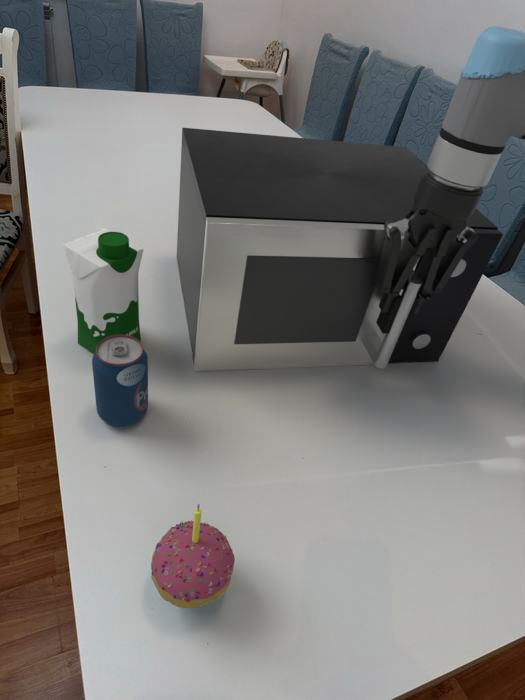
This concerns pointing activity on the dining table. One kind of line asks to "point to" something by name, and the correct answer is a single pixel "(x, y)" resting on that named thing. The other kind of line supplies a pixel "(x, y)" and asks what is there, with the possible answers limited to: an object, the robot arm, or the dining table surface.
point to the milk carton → (105, 286)
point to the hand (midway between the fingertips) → (390, 327)
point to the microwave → (316, 211)
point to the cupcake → (192, 564)
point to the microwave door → (294, 295)
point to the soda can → (120, 380)
